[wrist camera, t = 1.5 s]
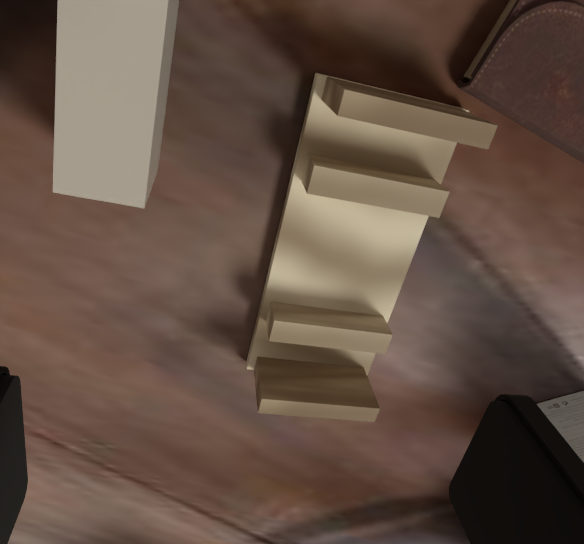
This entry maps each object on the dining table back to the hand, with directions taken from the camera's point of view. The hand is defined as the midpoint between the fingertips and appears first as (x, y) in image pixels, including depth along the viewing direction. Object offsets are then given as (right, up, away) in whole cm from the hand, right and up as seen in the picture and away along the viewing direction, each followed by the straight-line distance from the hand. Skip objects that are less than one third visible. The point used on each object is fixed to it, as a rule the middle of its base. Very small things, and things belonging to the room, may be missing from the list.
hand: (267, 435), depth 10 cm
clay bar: (-7, +15, +15) cm, 23 cm away
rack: (+4, +5, +22) cm, 23 cm away
